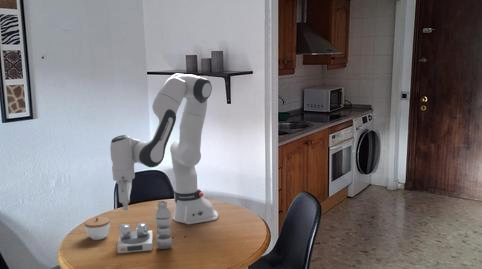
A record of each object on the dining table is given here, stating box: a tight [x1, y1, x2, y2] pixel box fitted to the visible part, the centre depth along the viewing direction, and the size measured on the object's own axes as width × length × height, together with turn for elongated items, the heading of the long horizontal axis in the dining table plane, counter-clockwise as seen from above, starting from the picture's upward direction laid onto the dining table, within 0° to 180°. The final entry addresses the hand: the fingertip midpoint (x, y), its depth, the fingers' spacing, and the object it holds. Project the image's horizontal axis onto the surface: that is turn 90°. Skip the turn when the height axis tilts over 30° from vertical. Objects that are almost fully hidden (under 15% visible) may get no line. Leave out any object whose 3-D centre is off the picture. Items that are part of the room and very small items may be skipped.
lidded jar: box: [84, 216, 111, 241], centre depth 190 cm, size 11×11×9 cm
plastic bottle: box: [154, 200, 173, 250], centre depth 177 cm, size 6×7×20 cm
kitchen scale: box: [116, 230, 154, 254], centre depth 182 cm, size 14×14×4 cm
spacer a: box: [118, 223, 132, 239], centre depth 180 cm, size 5×5×5 cm
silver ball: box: [135, 222, 149, 238], centre depth 182 cm, size 5×5×5 cm
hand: (126, 205), depth 179 cm, fingers open, 8 cm apart
